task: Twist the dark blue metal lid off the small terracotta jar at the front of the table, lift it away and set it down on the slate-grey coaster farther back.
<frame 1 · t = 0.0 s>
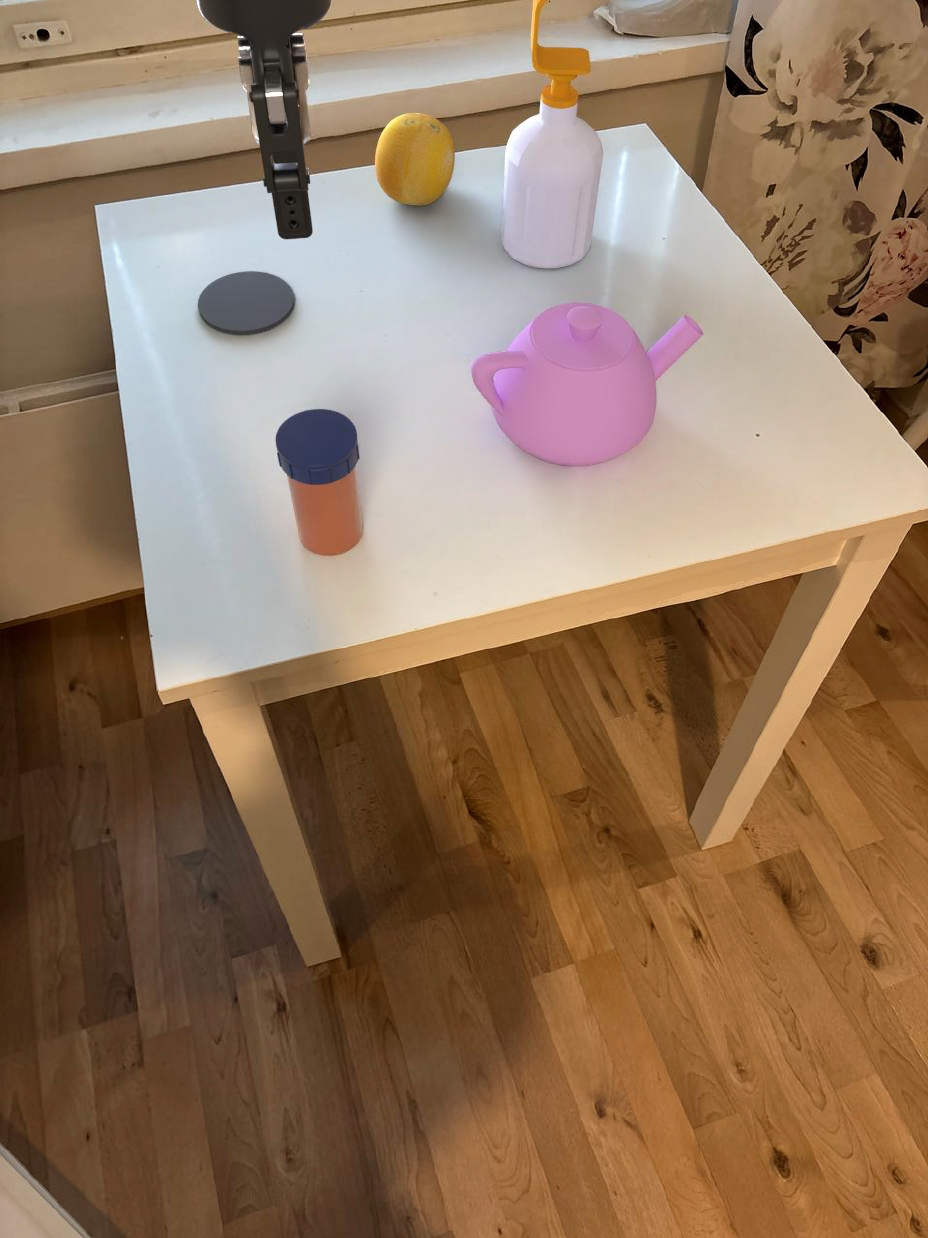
hand: (293, 198, 64), 21 cm above the table, tool pointing down, fingers open, 8 cm apart
coaster: (246, 304, 90), on the table
soap bottle: (545, 245, 96), on the table
fruit: (416, 198, 101), on the table
teapot: (578, 418, 82), on the table
lid: (316, 440, 66), point 10 cm above the table, screwed on, not yet turned
jar: (330, 530, 74), on the table
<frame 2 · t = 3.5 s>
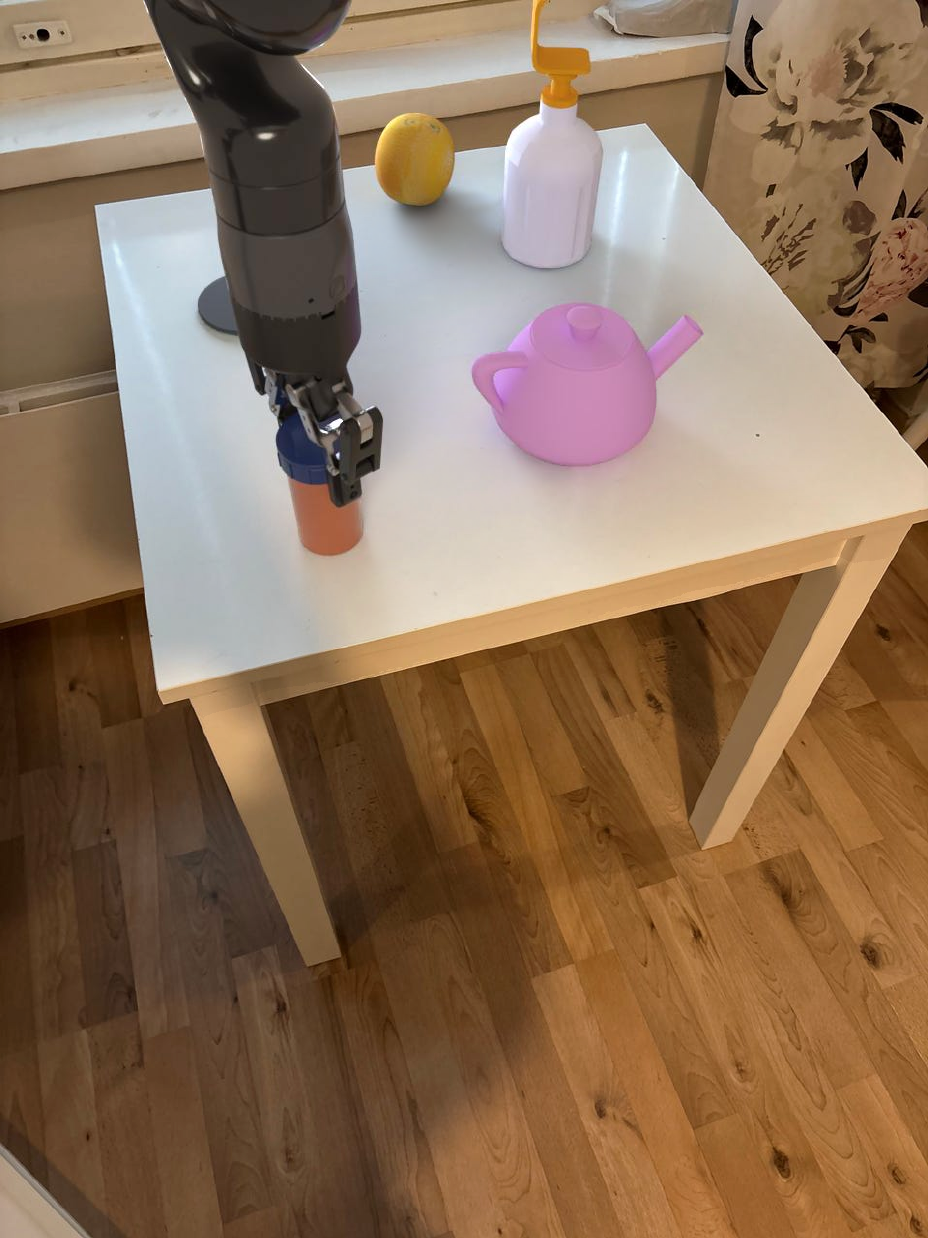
hand: (322, 474, 69), 6 cm above the table, tool pointing down, fingers closed on lid, 5 cm apart
lid: (317, 440, 66), point 10 cm above the table, screwed on, not yet turned, touching gripper
everything else where it was.
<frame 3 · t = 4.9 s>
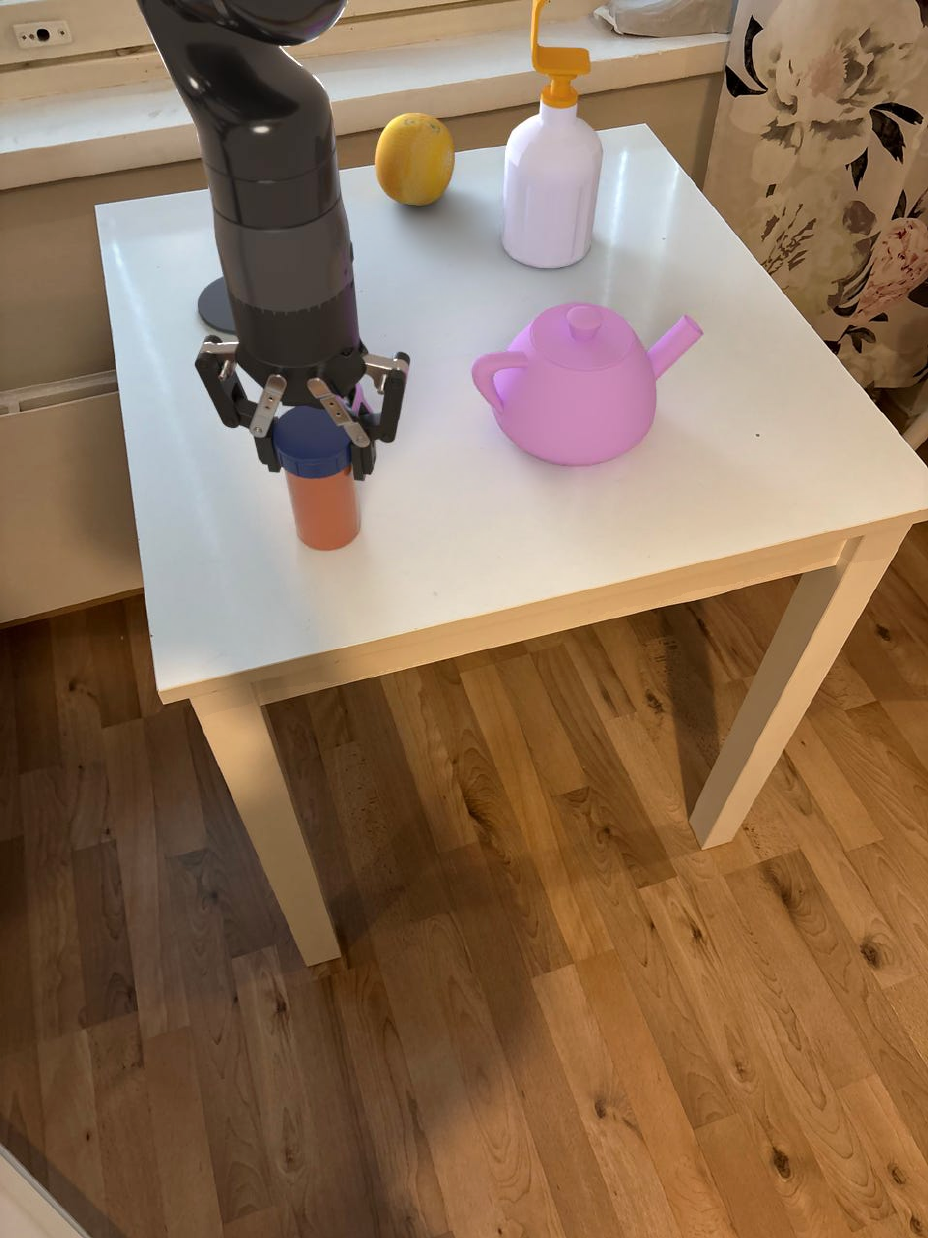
hand: (319, 467, 69), 7 cm above the table, tool pointing down, fingers closed on lid, 5 cm apart
lid: (314, 434, 66), point 10 cm above the table, turned 42° so far, risen 0.1 cm, still on its thread, touching gripper
everything else where it was.
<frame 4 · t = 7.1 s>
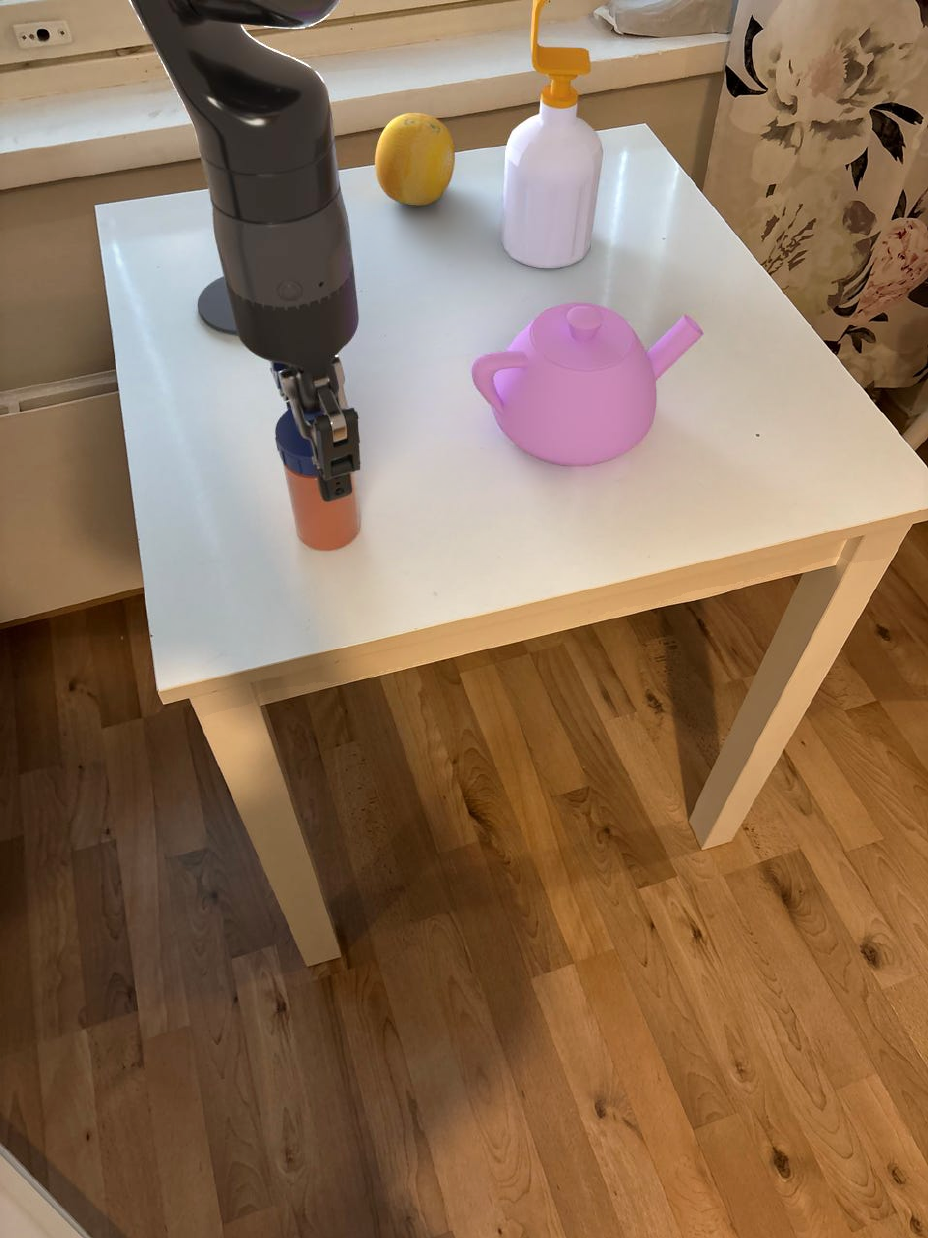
hand: (322, 465, 69), 7 cm above the table, tool pointing down, fingers closed on lid, 5 cm apart
lid: (316, 432, 66), point 10 cm above the table, off its thread, touching gripper
everything else where it was.
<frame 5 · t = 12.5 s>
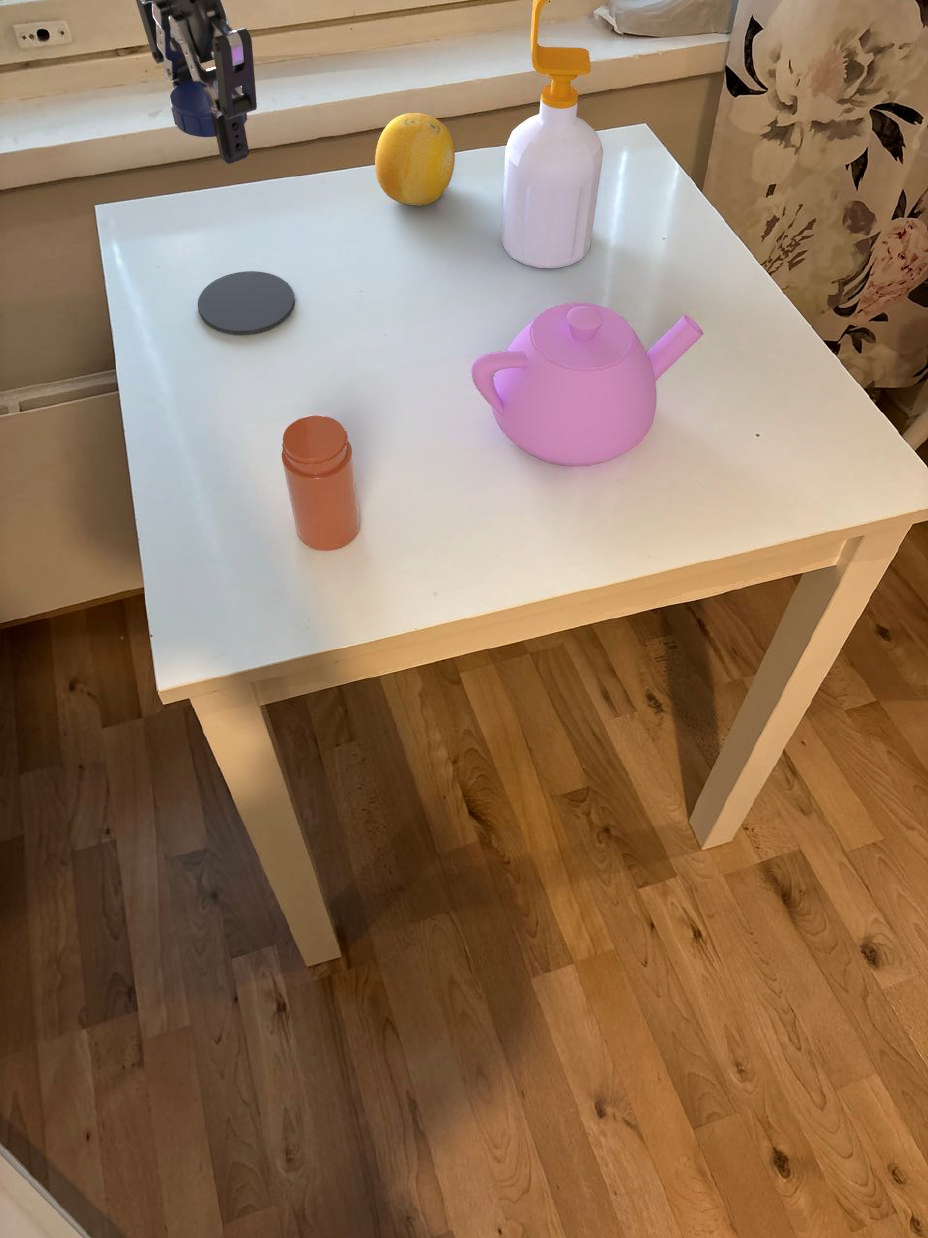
hand: (215, 141, 77), 16 cm above the table, tool pointing down, fingers closed on lid, 5 cm apart
lid: (207, 99, 74), point 19 cm above the table, off its thread, touching gripper
everything else where it was.
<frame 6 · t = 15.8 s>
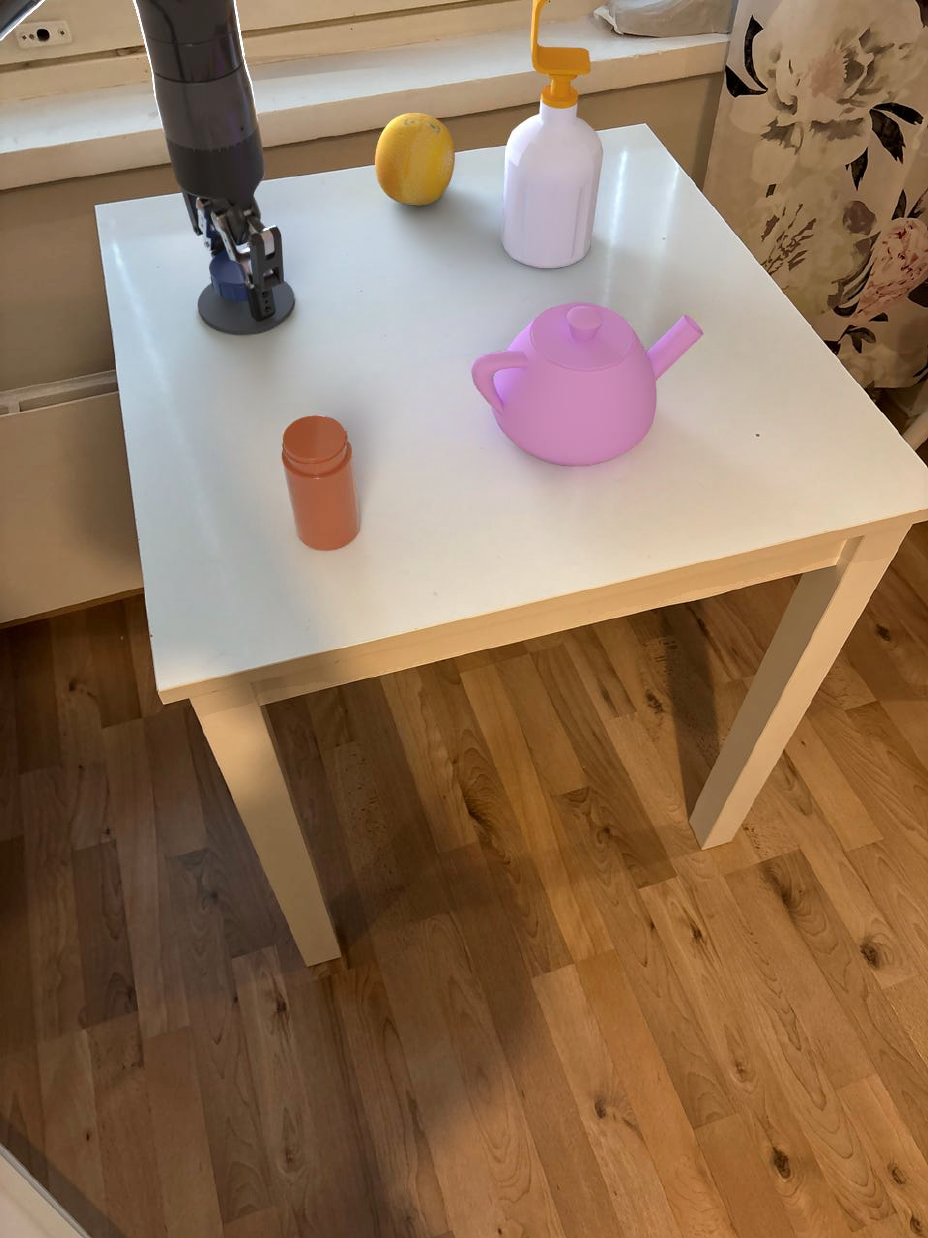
hand: (246, 299, 89), 1 cm above the table, tool pointing down, fingers closed on lid, 5 cm apart
lid: (241, 268, 87), point 4 cm above the table, off its thread, touching gripper
everything else where it was.
when the fingers open (1 cm above the table, at t = 21.7 s): lid drops 2 cm, resting on coaster.
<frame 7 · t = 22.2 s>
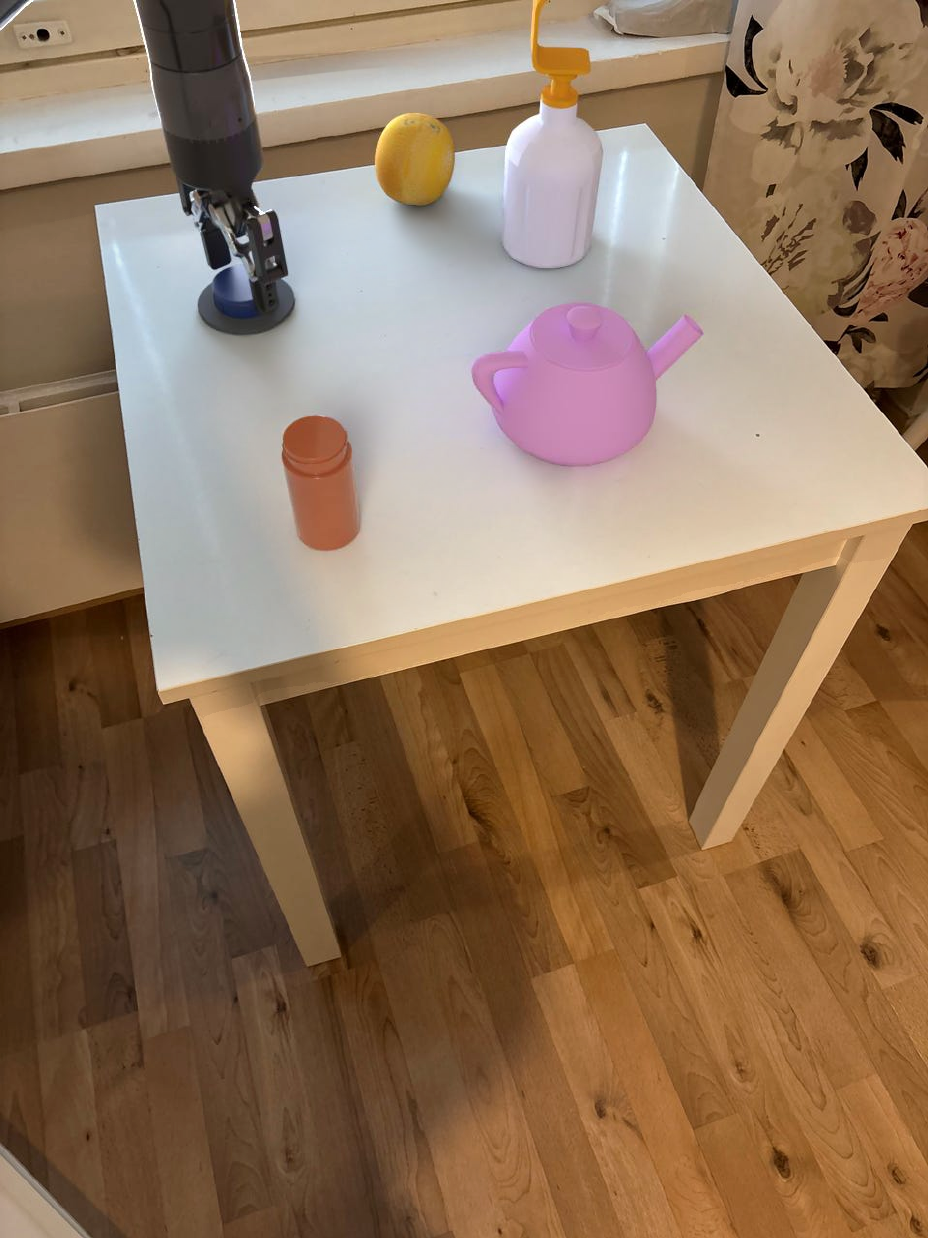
hand: (243, 287, 88), 2 cm above the table, tool pointing down, fingers open, 8 cm apart
lid: (242, 286, 88), point 2 cm above the table, off its thread, touching coaster
everything else where it was.
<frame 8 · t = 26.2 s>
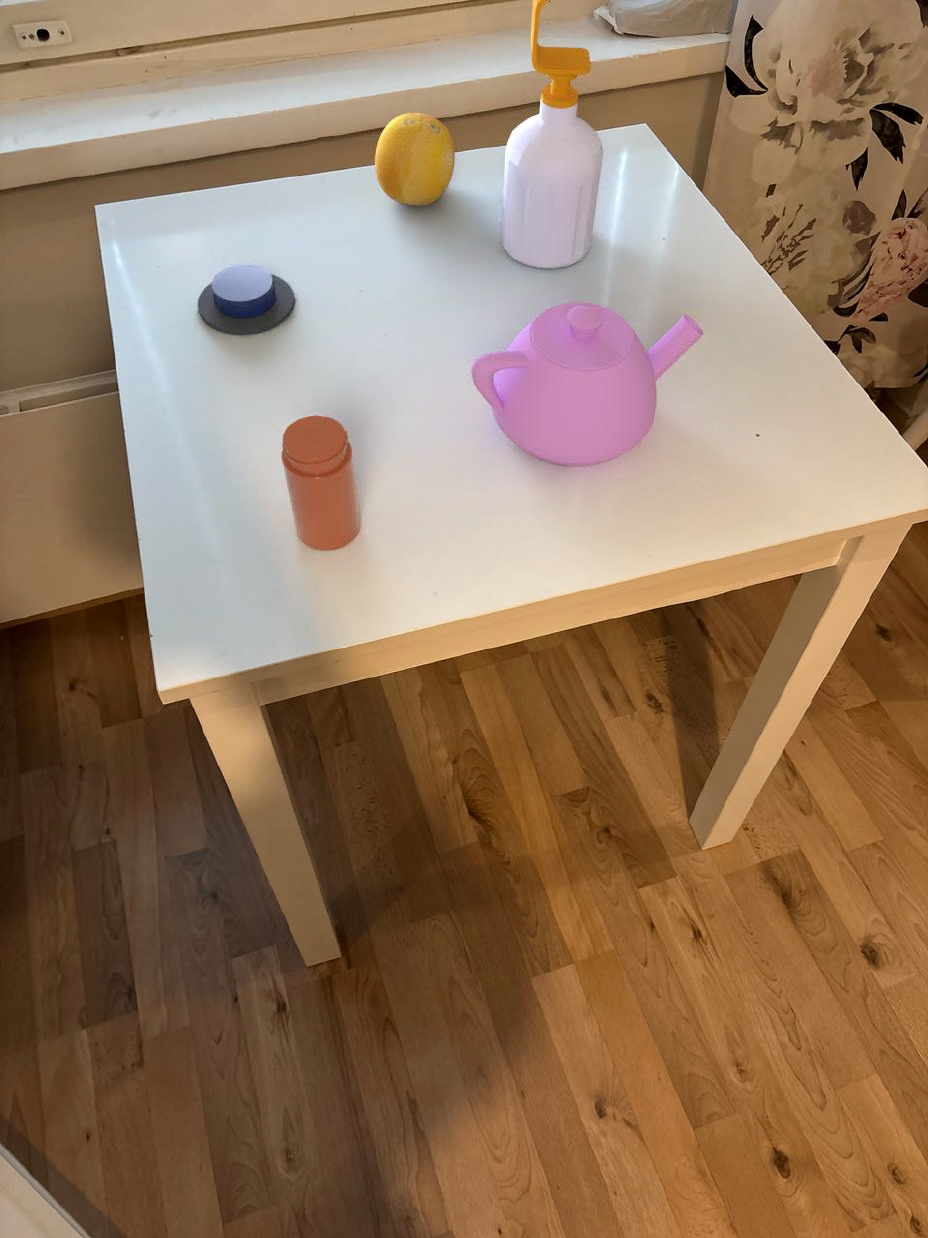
nothing on the table moved.
at the end: lid inside the target area on the coaster (0.0 cm from its centre), point 2.0 cm above the coaster's base; lid point 2.0 cm above the table; the gripper is holding nothing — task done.
